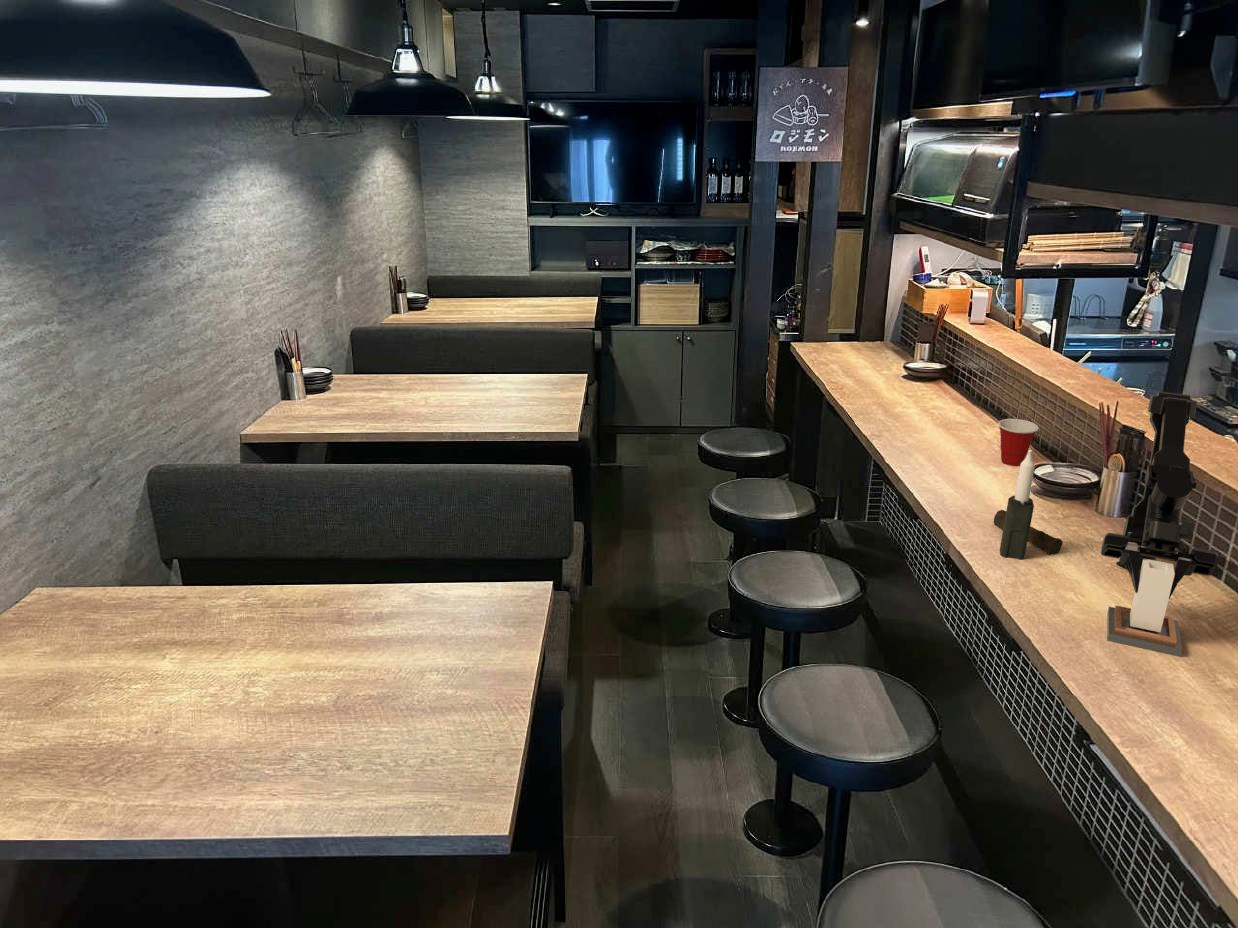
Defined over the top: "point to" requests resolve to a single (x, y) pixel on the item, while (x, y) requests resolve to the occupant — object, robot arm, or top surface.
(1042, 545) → the hand tool
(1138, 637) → the seat plate
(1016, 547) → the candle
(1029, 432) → the plastic cup
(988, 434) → the top surface
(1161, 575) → the sleeve
